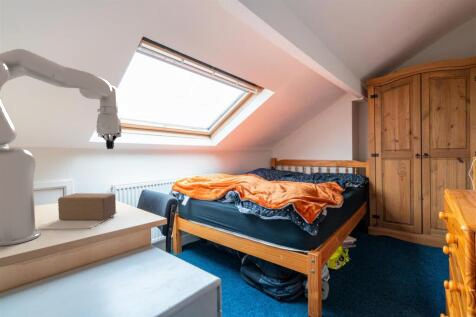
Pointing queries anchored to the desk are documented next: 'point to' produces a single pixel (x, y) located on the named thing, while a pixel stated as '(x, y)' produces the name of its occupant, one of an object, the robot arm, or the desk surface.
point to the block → (86, 206)
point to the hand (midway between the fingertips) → (110, 148)
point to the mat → (71, 224)
